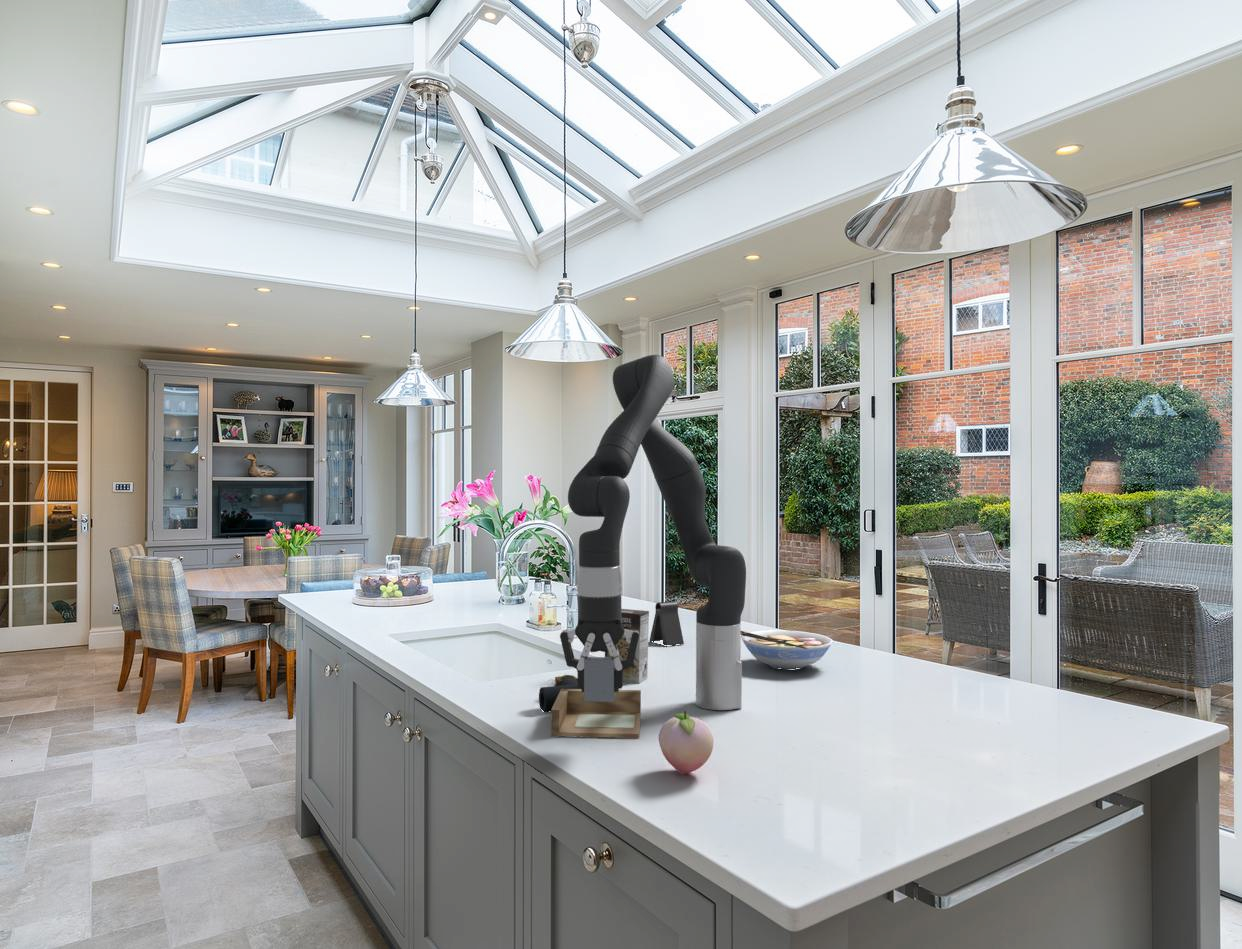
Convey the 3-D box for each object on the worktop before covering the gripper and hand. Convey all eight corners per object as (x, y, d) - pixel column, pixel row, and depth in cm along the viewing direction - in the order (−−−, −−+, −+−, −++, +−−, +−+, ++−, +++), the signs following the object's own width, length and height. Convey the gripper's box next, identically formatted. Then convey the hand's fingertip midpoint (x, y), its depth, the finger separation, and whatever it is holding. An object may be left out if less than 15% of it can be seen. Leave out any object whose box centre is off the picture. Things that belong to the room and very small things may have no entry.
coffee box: (603, 679, 185) (603, 611, 185) (613, 673, 191) (614, 607, 191) (639, 683, 182) (640, 613, 182) (649, 677, 188) (649, 609, 188)
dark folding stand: (684, 645, 227) (684, 603, 227) (666, 647, 223) (667, 604, 224) (666, 639, 234) (666, 599, 234) (649, 641, 231) (649, 600, 231)
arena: (640, 714, 157) (640, 690, 157) (638, 738, 142) (639, 711, 142) (561, 712, 158) (561, 688, 158) (550, 736, 143) (551, 710, 143)
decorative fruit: (722, 782, 122) (722, 717, 122) (672, 787, 119) (673, 721, 119) (699, 761, 131) (699, 701, 131) (652, 766, 128) (653, 704, 128)
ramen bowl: (855, 671, 196) (855, 638, 196) (791, 683, 183) (791, 648, 183) (782, 653, 216) (782, 623, 216) (719, 663, 203) (719, 631, 204)
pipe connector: (530, 676, 167) (596, 670, 173) (530, 700, 167) (596, 694, 173) (546, 690, 157) (615, 683, 162) (545, 716, 157) (615, 709, 162)
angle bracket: (616, 688, 140) (616, 649, 140) (613, 701, 132) (613, 659, 132) (588, 688, 140) (588, 649, 140) (584, 701, 132) (583, 659, 132)
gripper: (641, 588, 139) (642, 685, 139) (560, 589, 139) (561, 685, 139) (641, 595, 131) (641, 697, 131) (555, 595, 132) (556, 697, 132)
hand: (600, 690), depth 135 cm, fingers closed on angle bracket, 5 cm apart
